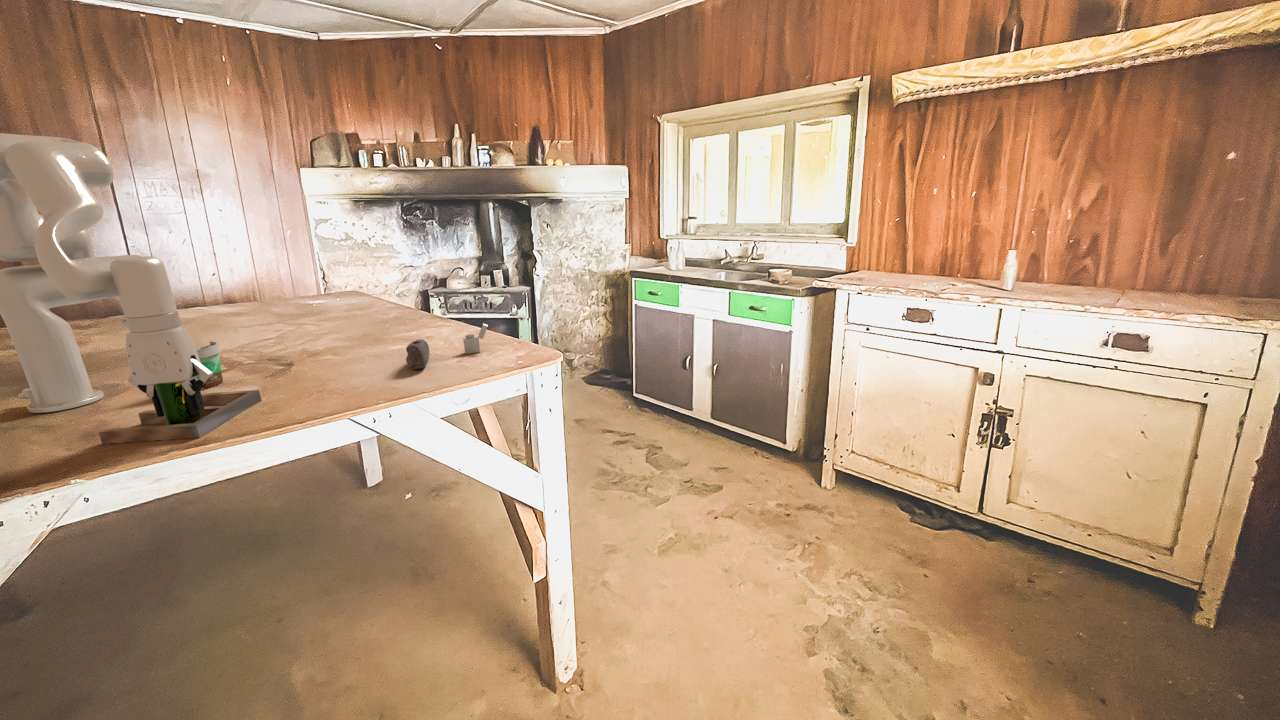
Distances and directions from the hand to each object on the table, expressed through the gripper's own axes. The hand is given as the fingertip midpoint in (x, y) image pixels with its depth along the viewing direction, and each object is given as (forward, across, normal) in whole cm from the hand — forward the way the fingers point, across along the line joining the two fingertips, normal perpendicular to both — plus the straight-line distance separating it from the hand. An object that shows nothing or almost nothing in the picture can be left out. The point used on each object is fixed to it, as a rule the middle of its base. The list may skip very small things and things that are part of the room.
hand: (181, 412), depth 109 cm
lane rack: (+3, -3, +5) cm, 7 cm away
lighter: (+4, +48, +47) cm, 67 cm away
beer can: (+4, 0, 0) cm, 4 cm away
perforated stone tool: (+4, +35, +37) cm, 51 cm away
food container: (+4, -14, +29) cm, 32 cm away
